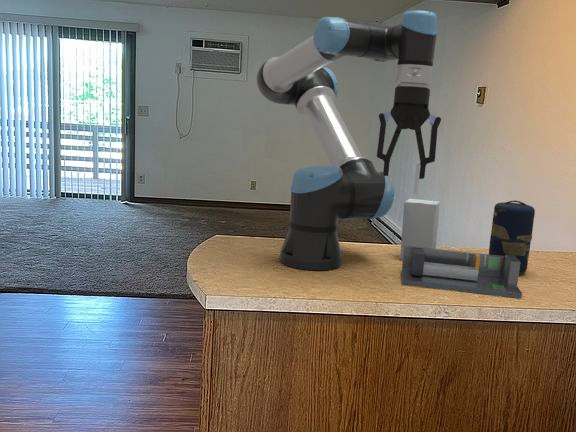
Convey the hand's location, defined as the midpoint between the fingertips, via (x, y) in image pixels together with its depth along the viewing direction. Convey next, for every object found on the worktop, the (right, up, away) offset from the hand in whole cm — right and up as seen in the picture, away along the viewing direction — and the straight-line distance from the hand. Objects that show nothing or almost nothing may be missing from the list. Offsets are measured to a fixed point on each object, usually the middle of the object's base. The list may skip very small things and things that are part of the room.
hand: (401, 191), depth 127 cm
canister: (+29, -19, +15) cm, 38 cm away
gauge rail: (+13, -21, +1) cm, 25 cm away
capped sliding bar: (+10, -19, +1) cm, 21 cm away
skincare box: (+8, -17, +21) cm, 28 cm away
